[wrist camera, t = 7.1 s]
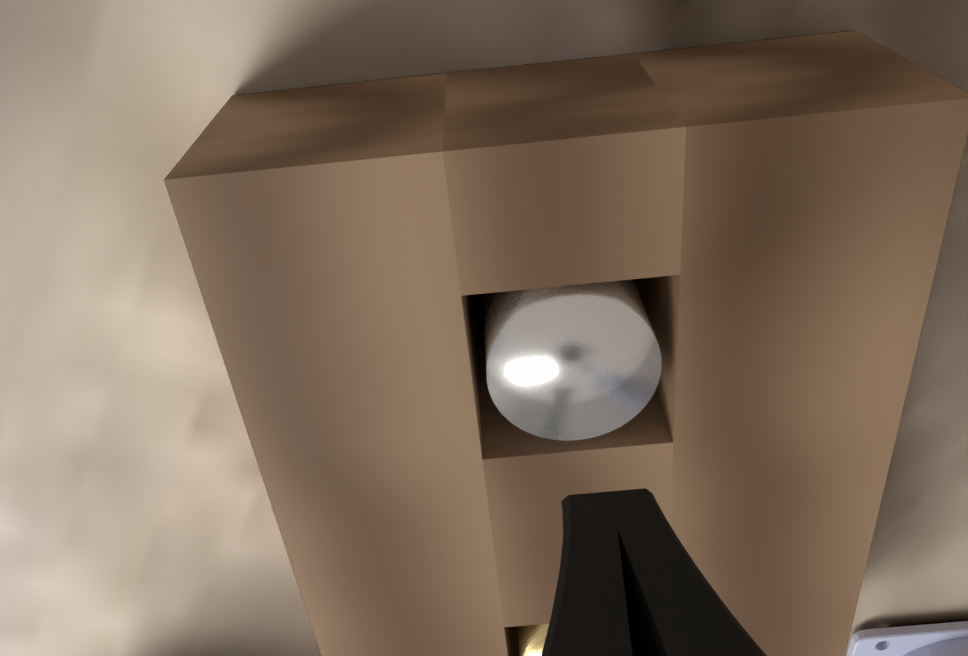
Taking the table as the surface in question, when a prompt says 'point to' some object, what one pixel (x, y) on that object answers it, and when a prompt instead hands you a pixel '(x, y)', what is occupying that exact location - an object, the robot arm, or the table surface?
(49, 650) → the table surface
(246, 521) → the table surface
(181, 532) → the table surface
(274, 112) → the socket block
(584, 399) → the peg
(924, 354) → the table surface
